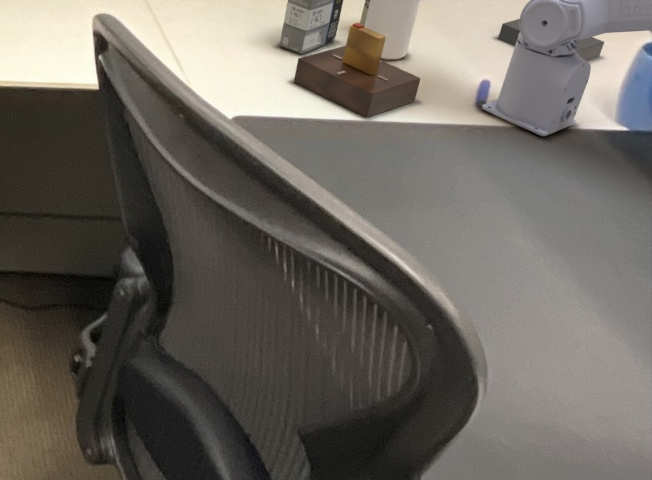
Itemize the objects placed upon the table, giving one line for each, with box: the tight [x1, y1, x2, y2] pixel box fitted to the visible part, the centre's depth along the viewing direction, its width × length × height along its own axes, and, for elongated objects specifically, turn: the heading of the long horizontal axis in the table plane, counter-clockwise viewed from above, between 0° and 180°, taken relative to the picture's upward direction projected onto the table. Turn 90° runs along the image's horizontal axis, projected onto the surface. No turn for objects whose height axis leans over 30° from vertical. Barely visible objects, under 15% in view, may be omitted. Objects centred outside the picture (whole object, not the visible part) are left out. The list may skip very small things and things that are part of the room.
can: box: [364, 0, 421, 61], centre depth 148 cm, size 6×6×12 cm
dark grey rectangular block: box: [497, 18, 605, 62], centre depth 161 cm, size 12×9×4 cm
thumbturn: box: [343, 22, 386, 75], centre depth 137 cm, size 5×1×5 cm, turn 44°
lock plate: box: [293, 45, 421, 118], centre depth 139 cm, size 12×10×3 cm
